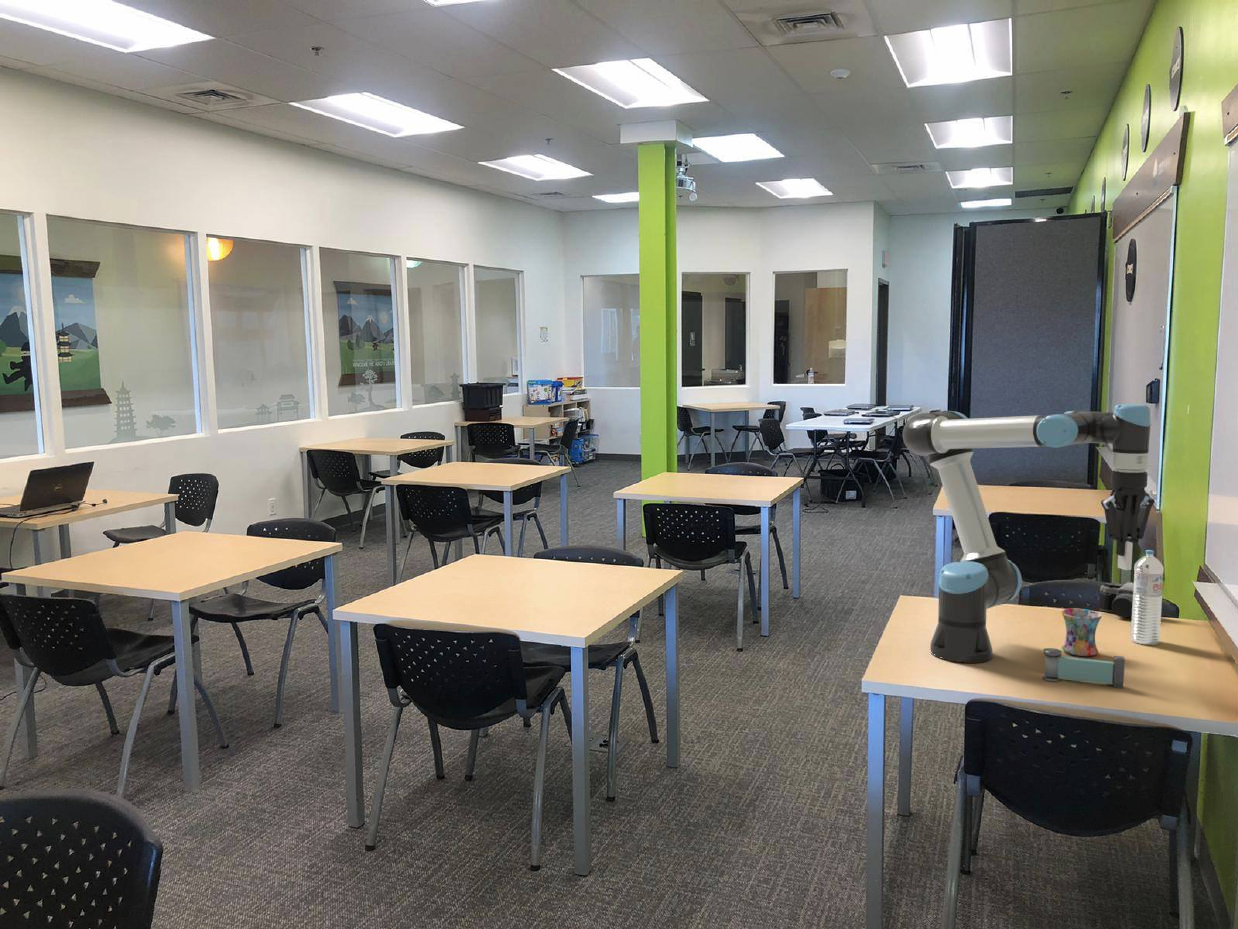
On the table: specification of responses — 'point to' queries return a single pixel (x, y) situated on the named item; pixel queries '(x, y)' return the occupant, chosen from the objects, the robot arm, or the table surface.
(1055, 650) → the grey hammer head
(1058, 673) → the teal rectangular bar
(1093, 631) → the mug
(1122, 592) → the camera
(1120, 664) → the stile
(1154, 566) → the water bottle
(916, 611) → the table surface
